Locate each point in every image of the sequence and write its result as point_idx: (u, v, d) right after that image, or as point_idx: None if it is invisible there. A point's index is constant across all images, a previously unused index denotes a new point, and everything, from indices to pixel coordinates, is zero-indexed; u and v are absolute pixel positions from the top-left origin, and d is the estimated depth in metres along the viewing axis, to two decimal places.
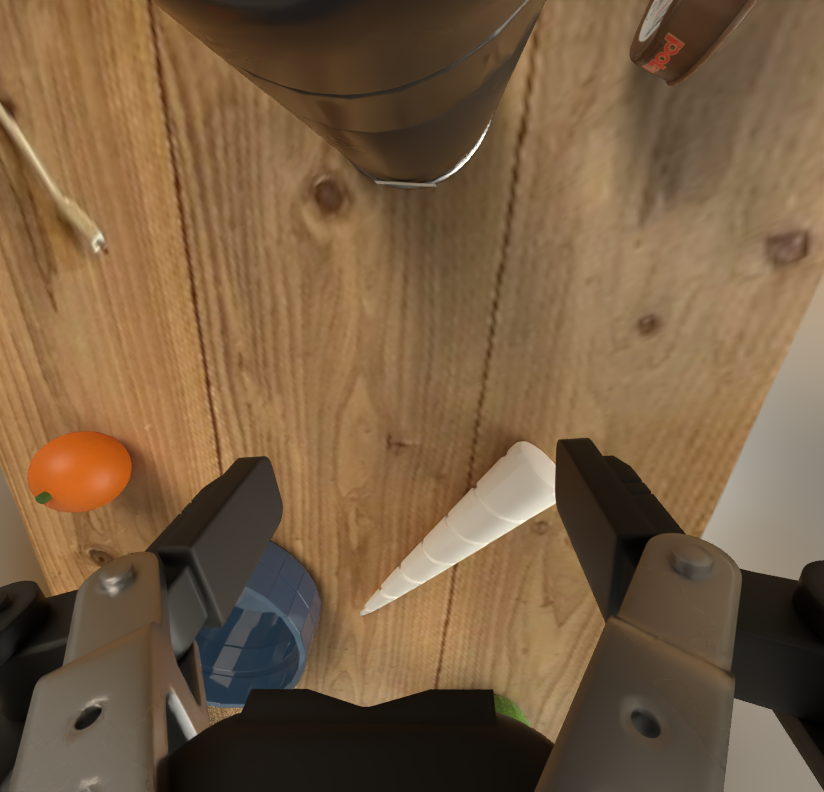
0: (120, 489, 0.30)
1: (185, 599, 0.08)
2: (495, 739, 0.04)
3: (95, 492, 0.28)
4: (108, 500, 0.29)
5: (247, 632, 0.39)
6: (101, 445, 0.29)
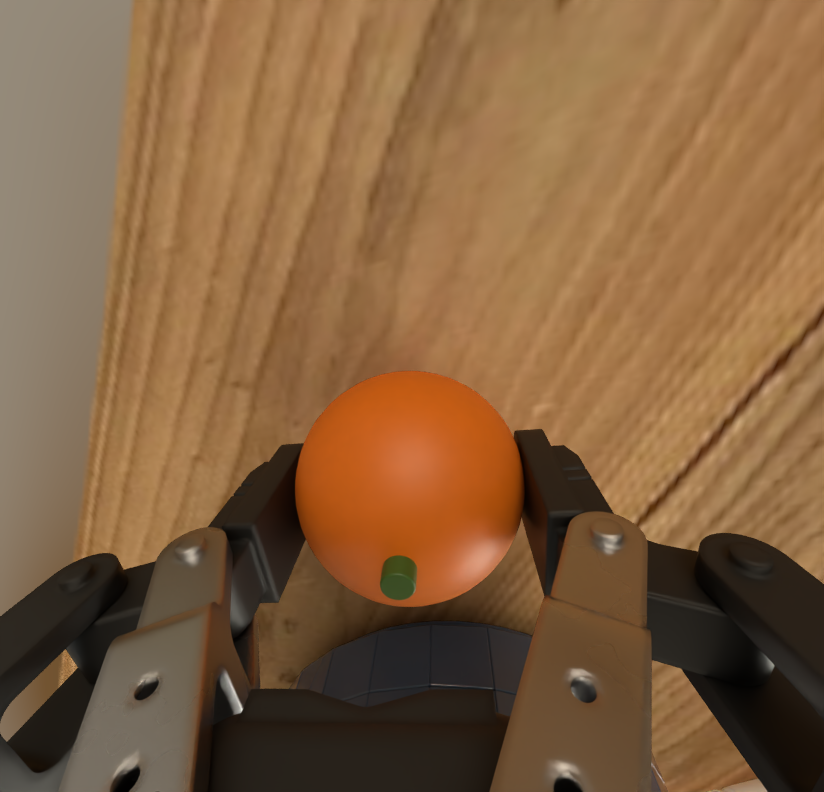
0: None
1: (248, 573, 0.08)
2: (495, 739, 0.04)
3: (489, 573, 0.09)
4: None
5: None
6: (512, 436, 0.10)
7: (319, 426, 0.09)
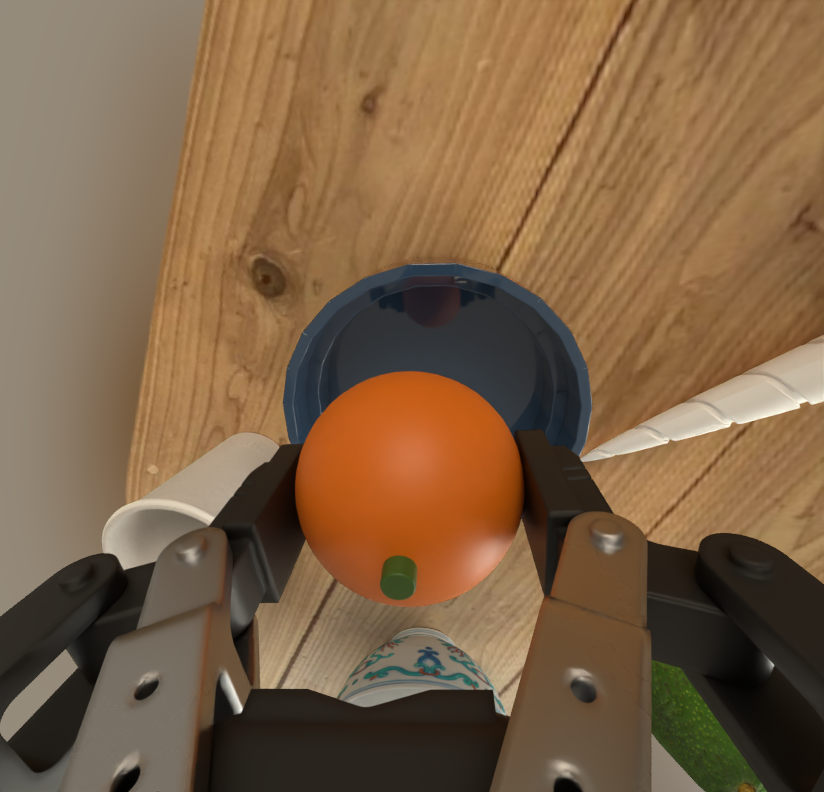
0: None
1: (249, 573, 0.08)
2: (495, 739, 0.04)
3: (489, 573, 0.09)
4: None
5: None
6: (512, 436, 0.10)
7: (319, 426, 0.09)
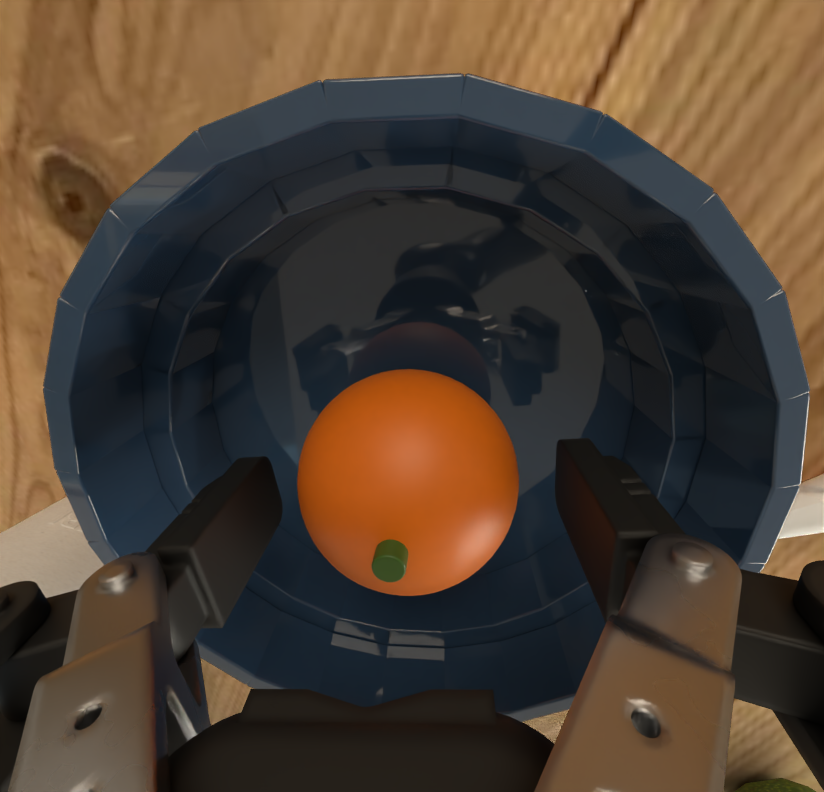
0: None
1: (185, 599, 0.08)
2: (495, 739, 0.04)
3: (482, 565, 0.10)
4: None
5: None
6: None
7: (321, 418, 0.10)
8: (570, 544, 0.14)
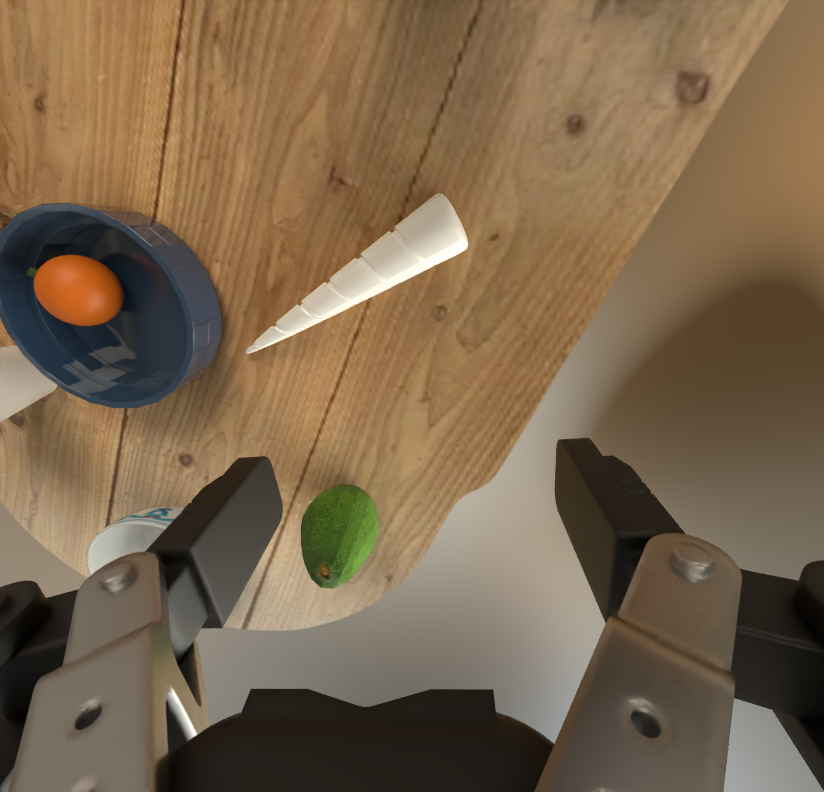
0: (74, 312, 0.32)
1: (185, 599, 0.08)
2: (495, 739, 0.04)
3: (52, 291, 0.31)
4: (60, 312, 0.32)
5: (138, 354, 0.39)
6: (96, 273, 0.33)
7: None
8: None
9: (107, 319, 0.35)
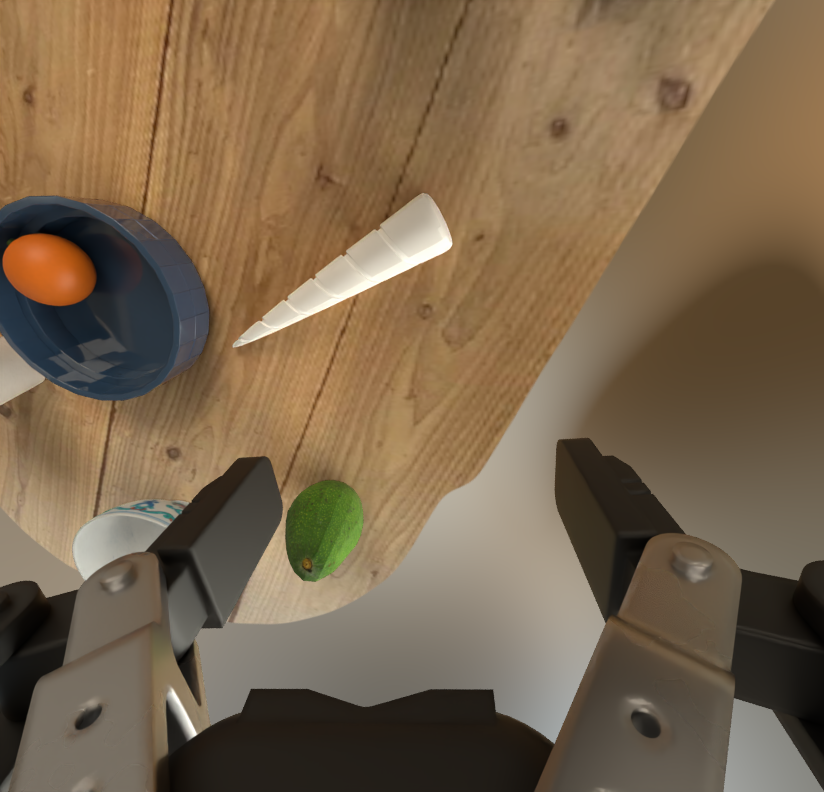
0: (20, 279, 0.31)
1: (185, 599, 0.08)
2: (495, 739, 0.04)
3: (8, 255, 0.31)
4: (10, 277, 0.32)
5: (126, 347, 0.40)
6: (59, 248, 0.32)
7: None
8: None
9: (59, 298, 0.33)
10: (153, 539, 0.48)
